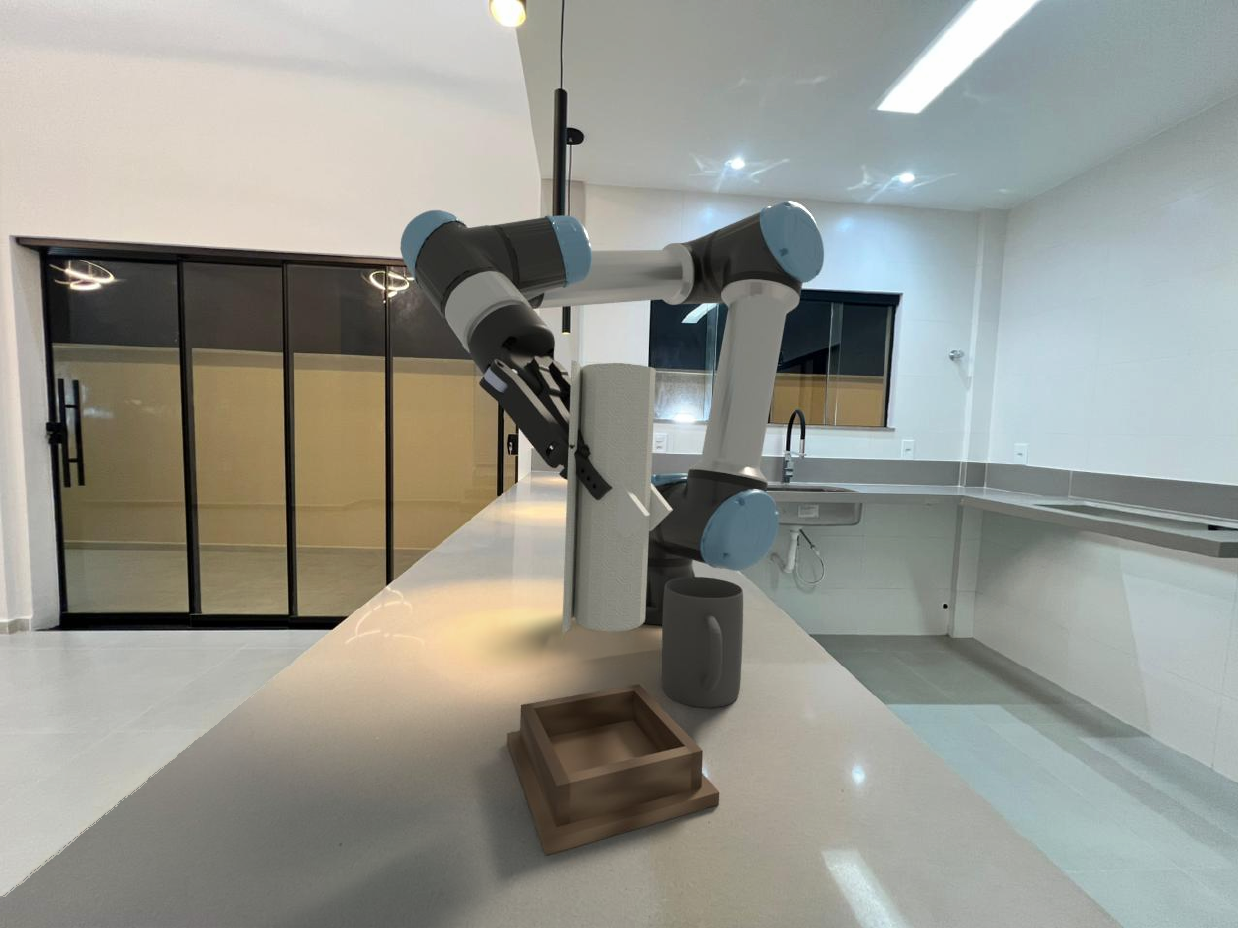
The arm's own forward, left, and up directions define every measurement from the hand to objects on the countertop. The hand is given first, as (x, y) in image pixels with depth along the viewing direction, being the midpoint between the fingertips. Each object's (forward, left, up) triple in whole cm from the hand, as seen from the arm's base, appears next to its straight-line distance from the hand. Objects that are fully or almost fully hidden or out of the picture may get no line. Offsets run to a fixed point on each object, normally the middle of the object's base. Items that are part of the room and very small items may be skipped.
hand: (648, 523), depth 42 cm
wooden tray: (+2, -3, -22) cm, 22 cm away
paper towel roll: (+3, -3, -9) cm, 10 cm away
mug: (-13, -11, -22) cm, 28 cm away
